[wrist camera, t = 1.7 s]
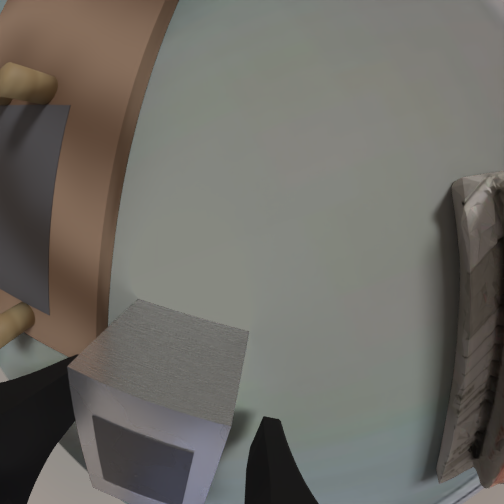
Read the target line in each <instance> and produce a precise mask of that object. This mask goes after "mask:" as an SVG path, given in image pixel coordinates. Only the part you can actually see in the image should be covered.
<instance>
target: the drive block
mask: <svg viewBox="0 0 504 504" xmlns="http://www.w3.org/2000/svg"><path fill="white" fill-rule="evenodd" d="M248 336H249V331H246V330H242V329H238V328H235V327H231V326H227V325H224V324H220V323H216V322H213V321H209V320H206V319H202V318H199V317H195V316H192V315H189V314H185V313H182V312H179V311H175V310H172V309H169V308H166V307H163V306H159V305H156V304H153V303H150V302H147V301H144V300H141V299H137V300H136V301H135V302H134V303H133V304H132V305H131V306H130V307H129V308H128V309H127V310H126V311H125V312H123V313H122V314H121V315H120V316H119V317H118V318H117V319H116V320H115V321H114V322H113V323H112V324H111V325H110V326H109V327H107V328H106V329H105V330H104V331H103V332H102V333H101V334H100V335H99V336H98V337H97V338H96V339H95V340H94V341H93V342H92V343H91V344H90V345H89V346H88V347H87V348H86V349H84V350H83V351H82V352H81V353H80V354H79V355H78V356H77V357H76V358H75V359H74V360H73V361H72V362H71V363H70V364H69V365H68V366H67V369H68V377H69V385H70V391H71V398H72V404H73V409H74V415H75V420H76V425H77V430H78V434H79V439H80V443H81V447H82V451H83V455H84V459H85V462H86V466H87V469H88V473H89V476H90V479H91V482H92V486H93V487H94V488H96V489H98V490H100V491H102V492H105V493H107V494H109V495H111V496H114V497H116V498H118V499H121V500H123V501H126V502H128V503H131V504H204V502H205V499H206V497H207V494H208V491H209V488H210V486H211V483H212V480H213V477H214V474H215V472H216V469H217V466H218V463H219V460H220V458H221V455H222V452H223V449H224V446H225V443H226V440H227V437H228V434H229V432H230V429H231V425H232V420H233V415H234V410H235V405H236V399H237V394H238V389H239V384H240V379H241V373H242V368H243V363H244V358H245V352H246V347H247V342H248Z"/></svg>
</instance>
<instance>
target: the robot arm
mask: <svg viewBox="0 0 504 504" xmlns="http://www.w3.org/2000/svg"><path fill="white" fill-rule="evenodd" d="M77 356H78V354H76V355H74V356H71V357H69V358H67V359H64V360H62V361H60V362H58V363H55V364H53V365H51V366H48V367H46V368H44V369H41V370H39V371H36V372H34V373H31V374H28V375H25V376H22V377H19V378H16V379H13V380H9V381H6V382H1V383H0V504H27V502H28V499H29V496H30V494H31V491H32V489H33V487H34V484H35V482H36V480H37V478H38V476H39V474H40V472H41V470H42V468H43V466H44V464H45V462H46V460H47V458H48V457H49V455H50V453H51V452H52V450H53V449H54V447H55V446H56V444H57V443H58V442H59V440H60V439H61V438H62V437H63V435H64V434H65V433H66V431H67V430H68V429H69V428H70V426H71V425H72V424H73V423H74V421H75V415H74V409H73V404H72V398H71V391H70V385H69V377H68V369H67V366H68V365H69V364H70V363H71V362H72V361H73V360H74V359H75V358H76V357H77ZM129 504H131V503H129ZM245 504H318V502H317V501H316V499H315V498H314V496H313V495H312V493H311V491H310V490H309V488H308V486H307V485H306V483H305V481H304V479H303V477H302V475H301V473H300V471H299V469H298V467H297V465H296V463H295V460H294V458H293V456H292V453H291V451H290V448H289V446H288V443H287V440H286V437H285V434H284V431H283V427H282V424H281V421H280V420H279V419H275V418H270V417H265V416H264V417H263V419H262V421H261V424H260V426H259V428H258V431H257V433H256V435H255V437H254V440H253V442H252V444H251V447H250V452H249V457H248V463H247V468H246V486H245Z"/></svg>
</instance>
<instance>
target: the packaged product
mask: <svg viewBox="0 0 504 504" xmlns="http://www.w3.org/2000/svg"><path fill="white" fill-rule="evenodd" d="M451 189H452V198H453V204H454V211H455V219H456V227H457V237H458V248H459V257H460V293H459V313H458V327H457V345H456V356H455V365H454V373H453V379H452V385H451V392H450V399H449V405H448V410H447V417H446V421H445V427H444V433H443V438H442V443H441V448H440V453H439V458H438V462H437V468H436V472H437V476H438V481H439V484H440V483H443V482H445V481H447V480H449V479H452V478H454V477H456V476H457V475H459V474H461V473H462V472H464V471H466V470H468V469H470V468H472V467H474V468H475V469H476V471H477V474H478V476H479V479H480V483H481V485H482V486H483V487H484V488H490V487H493V486H495V485H497V484H504V171H498V172H492V173H486V174H480V175H474V176H468V177H462V178H460V179H458V180H457V181H455V182H454V183H453V185H452V187H451Z"/></svg>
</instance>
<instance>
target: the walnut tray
mask: <svg viewBox="0 0 504 504" xmlns="http://www.w3.org/2000/svg"><path fill="white" fill-rule="evenodd" d="M178 1H179V0H7V2H6V4H5V6H4V8H3V10H2V12H1V14H0V349H1V348H2V347H3V346H5V345H6V344H7V343H9V342H10V341H12V340H13V339H14V338H16V337H17V336H19V335H20V334H21V333H23V332H24V333H26V334H27V335H29V336H31V337H33V338H34V339H36V340H38V341H40V342H42V343H43V344H45V345H47V346H49V347H51V348H53V349H55V350H56V351H58V352H60V353H62V354H64V355H66V356H68V357H71V356H74V355H76V354H78V355H79V354H80V353H81V352H82V351H83V350H84V349H86V348H87V347H88V346H89V345H90V344H91V343H92V342H93V341H94V340H95V339H96V338H97V337H98V336H99V335H100V334H101V333H102V332H103V331H104V330H105V329H106V328H107V327H108V307H109V290H110V278H111V266H112V257H113V248H114V239H115V232H116V224H117V218H118V211H119V205H120V199H121V193H122V187H123V182H124V177H125V172H126V167H127V162H128V157H129V153H130V148H131V144H132V140H133V136H134V132H135V128H136V124H137V120H138V116H139V112H140V109H141V105H142V102H143V98H144V95H145V91H146V88H147V85H148V81H149V78H150V75H151V72H152V69H153V66H154V63H155V60H156V57H157V54H158V52H159V49H160V46H161V43H162V41H163V38H164V35H165V33H166V30H167V28H168V25H169V23H170V20H171V18H172V15H173V13H174V10H175V8H176V6H177V3H178Z"/></svg>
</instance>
